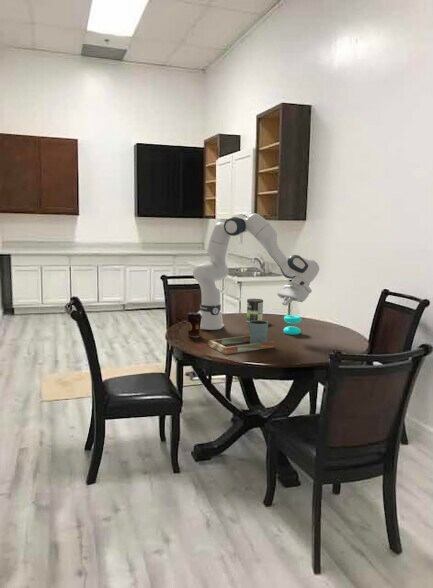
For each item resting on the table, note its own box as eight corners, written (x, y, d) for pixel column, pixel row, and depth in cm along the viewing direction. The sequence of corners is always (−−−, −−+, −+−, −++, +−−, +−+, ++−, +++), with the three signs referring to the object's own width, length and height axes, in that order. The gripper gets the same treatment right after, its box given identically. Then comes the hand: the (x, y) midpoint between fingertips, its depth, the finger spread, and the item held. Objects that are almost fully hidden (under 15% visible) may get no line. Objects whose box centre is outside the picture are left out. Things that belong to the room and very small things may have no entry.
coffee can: (250, 323, 307) (250, 301, 305) (244, 320, 317) (244, 298, 315) (265, 322, 310) (265, 300, 308) (258, 319, 320) (259, 298, 318)
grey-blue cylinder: (266, 347, 250) (267, 324, 248) (247, 346, 252) (247, 323, 250) (268, 342, 260) (269, 320, 258) (249, 341, 262) (250, 319, 260)
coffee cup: (187, 338, 267) (187, 314, 265) (184, 334, 275) (184, 312, 273) (203, 337, 269) (203, 314, 267) (199, 334, 277) (199, 311, 275)
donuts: (303, 315, 283) (298, 318, 274) (303, 332, 284) (297, 336, 276) (287, 314, 287) (281, 316, 279) (286, 330, 289) (280, 334, 280)
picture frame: (208, 346, 251) (208, 340, 251) (255, 339, 265) (255, 334, 265) (225, 354, 237) (225, 348, 236) (273, 347, 251) (274, 341, 250)
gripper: (283, 279, 274) (269, 298, 270) (307, 283, 256) (292, 303, 253) (290, 287, 277) (275, 305, 273) (314, 291, 259) (299, 311, 256)
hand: (284, 304), depth 263 cm, fingers closed
